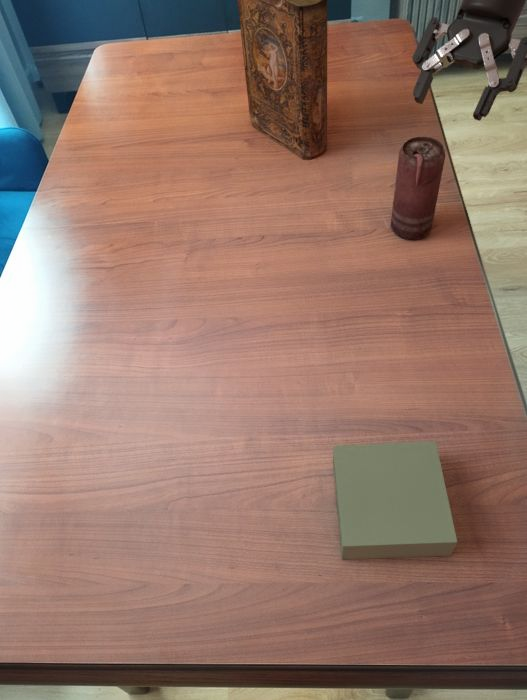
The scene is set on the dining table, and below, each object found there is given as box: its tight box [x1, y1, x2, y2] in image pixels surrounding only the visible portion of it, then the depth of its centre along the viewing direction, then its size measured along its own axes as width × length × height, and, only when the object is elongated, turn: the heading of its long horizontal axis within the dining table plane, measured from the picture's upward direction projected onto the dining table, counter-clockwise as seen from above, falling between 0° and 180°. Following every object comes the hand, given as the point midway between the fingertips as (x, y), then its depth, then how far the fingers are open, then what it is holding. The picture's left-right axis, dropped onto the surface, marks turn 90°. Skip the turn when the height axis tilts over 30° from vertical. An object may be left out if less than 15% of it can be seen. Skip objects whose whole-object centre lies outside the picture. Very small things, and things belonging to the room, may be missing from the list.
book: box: [237, 0, 329, 161], centre depth 97 cm, size 16×6×25 cm, turn 39°
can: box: [390, 136, 446, 241], centre depth 84 cm, size 6×6×14 cm
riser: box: [332, 440, 458, 560], centre depth 61 cm, size 11×11×4 cm
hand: (446, 110), depth 79 cm, fingers open, 8 cm apart
